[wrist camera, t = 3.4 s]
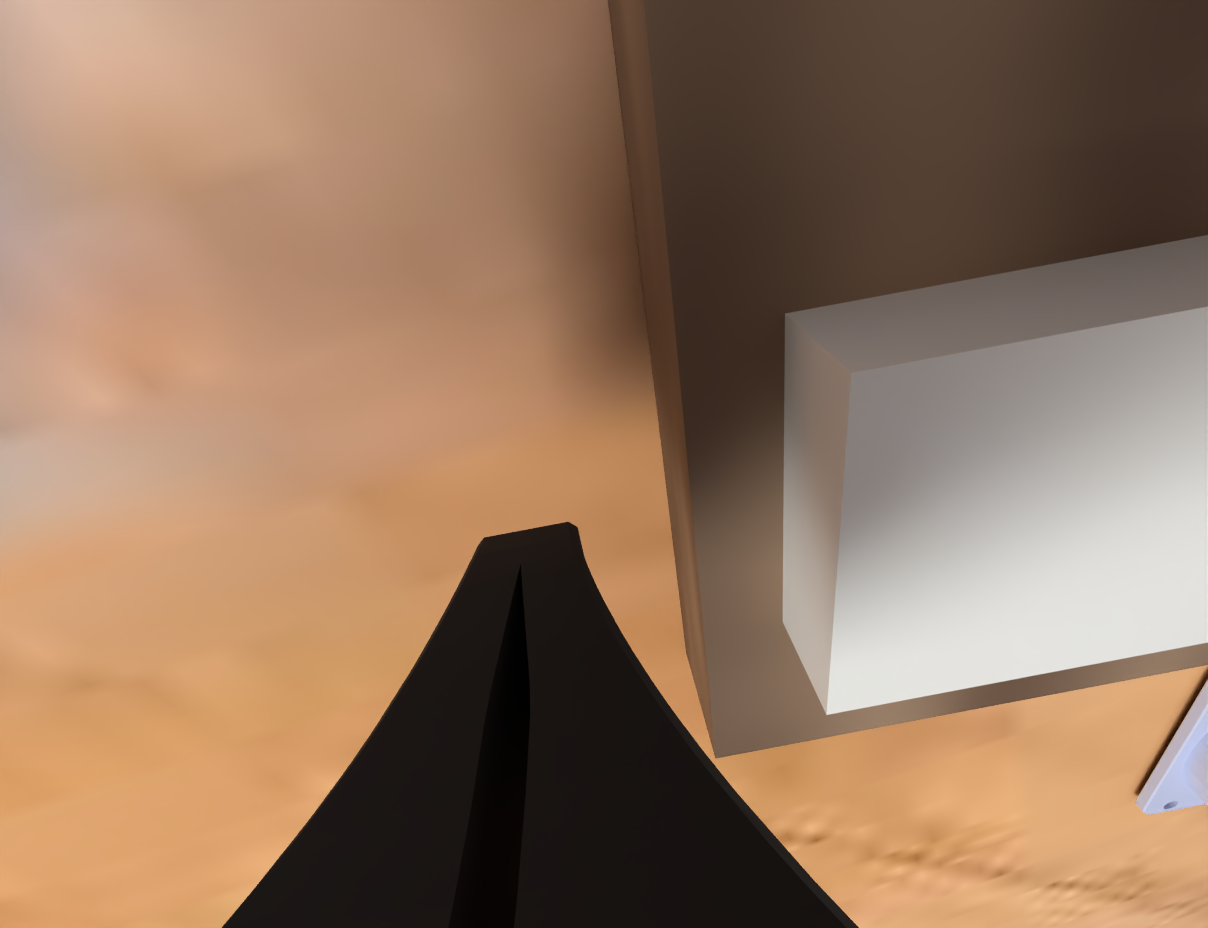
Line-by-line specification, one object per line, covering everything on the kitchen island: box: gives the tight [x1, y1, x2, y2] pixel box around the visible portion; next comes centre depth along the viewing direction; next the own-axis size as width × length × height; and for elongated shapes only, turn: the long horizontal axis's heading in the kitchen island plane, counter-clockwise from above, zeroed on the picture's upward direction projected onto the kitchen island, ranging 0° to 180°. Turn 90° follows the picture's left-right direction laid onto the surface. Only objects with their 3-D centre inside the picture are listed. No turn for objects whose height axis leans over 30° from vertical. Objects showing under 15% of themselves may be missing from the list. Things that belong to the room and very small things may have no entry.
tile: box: [783, 235, 1208, 715], centre depth 9 cm, size 7×6×2 cm
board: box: [608, 0, 1208, 758], centre depth 11 cm, size 14×14×3 cm
